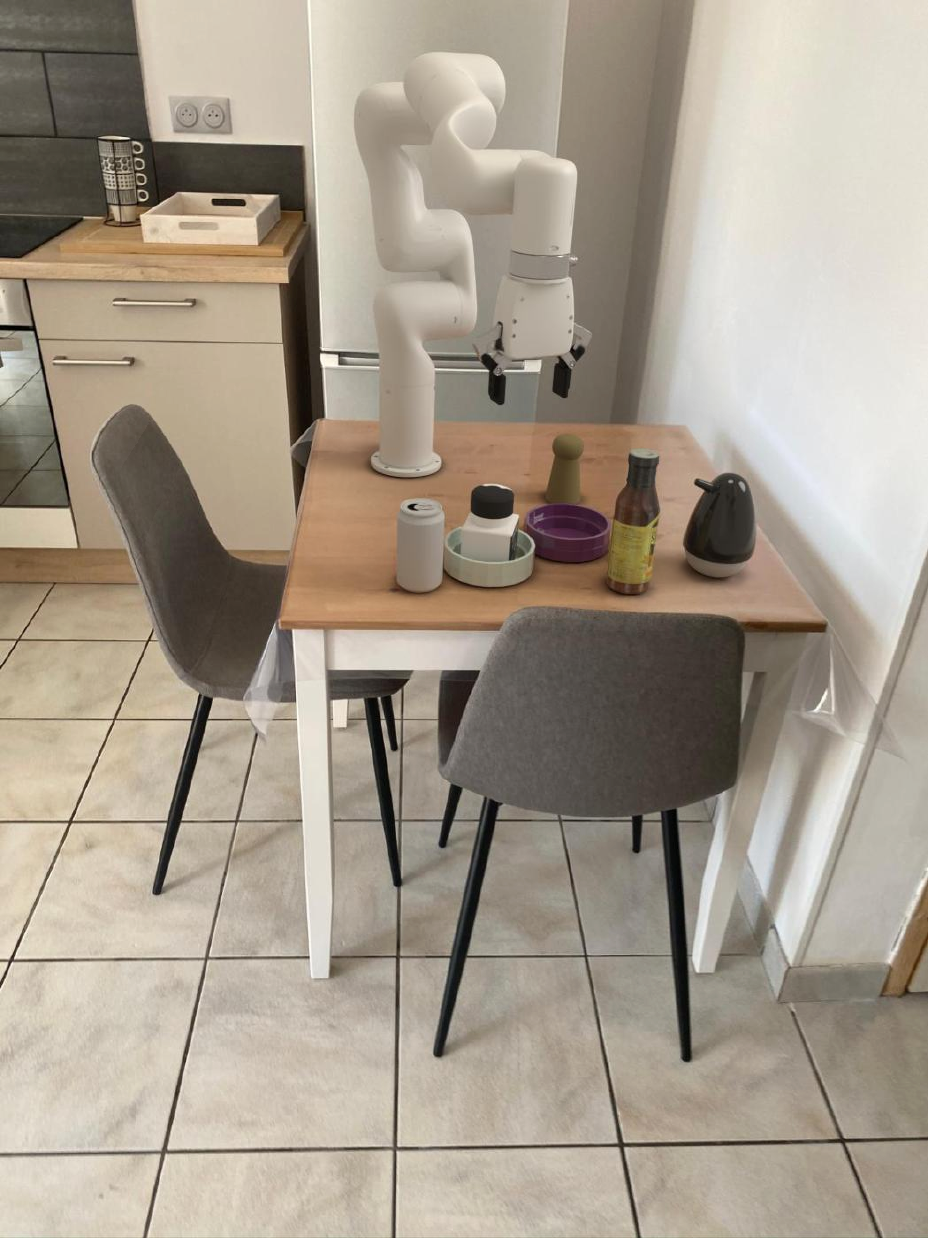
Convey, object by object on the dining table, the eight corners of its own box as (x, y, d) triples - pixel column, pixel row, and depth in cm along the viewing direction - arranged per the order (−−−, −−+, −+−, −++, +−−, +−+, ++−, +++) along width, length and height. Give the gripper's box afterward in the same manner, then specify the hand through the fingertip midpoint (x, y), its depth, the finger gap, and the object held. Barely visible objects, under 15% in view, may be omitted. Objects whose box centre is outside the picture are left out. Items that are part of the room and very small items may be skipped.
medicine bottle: (508, 579, 136) (514, 502, 130) (459, 573, 137) (462, 495, 131) (516, 557, 142) (522, 482, 136) (468, 551, 143) (472, 476, 137)
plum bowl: (508, 532, 150) (510, 509, 148) (581, 521, 155) (583, 498, 153) (547, 569, 140) (550, 544, 138) (623, 556, 145) (627, 532, 143)
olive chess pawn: (583, 495, 164) (591, 433, 158) (575, 508, 159) (583, 445, 153) (549, 489, 165) (555, 428, 160) (540, 502, 161) (546, 439, 155)
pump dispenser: (669, 553, 146) (686, 459, 138) (735, 553, 147) (755, 460, 139) (688, 585, 137) (706, 487, 130) (758, 586, 138) (780, 488, 130)
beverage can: (395, 573, 137) (396, 495, 131) (440, 573, 137) (443, 496, 131) (397, 595, 131) (397, 515, 125) (443, 595, 132) (446, 515, 126)
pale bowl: (430, 554, 142) (430, 530, 140) (508, 541, 147) (510, 518, 145) (465, 595, 132) (466, 569, 130) (548, 580, 137) (550, 555, 135)
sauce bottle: (653, 596, 134) (675, 463, 124) (609, 596, 134) (628, 462, 123) (642, 574, 140) (662, 445, 130) (600, 574, 139) (617, 444, 129)
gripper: (582, 257, 127) (569, 384, 136) (464, 263, 120) (459, 396, 129) (613, 268, 121) (597, 400, 130) (490, 275, 115) (483, 413, 123)
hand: (528, 398), depth 130 cm, fingers open, 9 cm apart
